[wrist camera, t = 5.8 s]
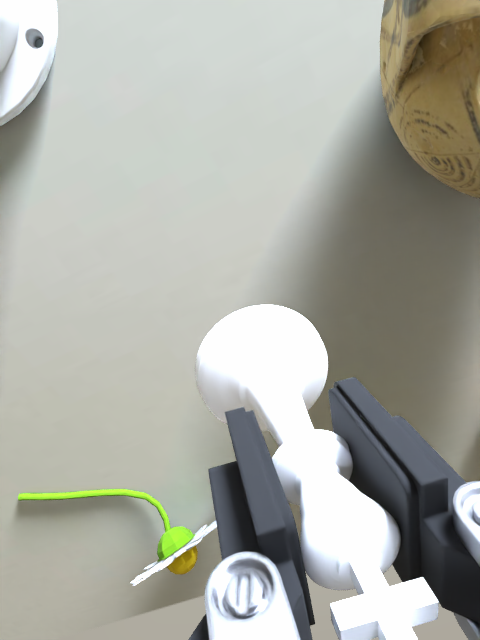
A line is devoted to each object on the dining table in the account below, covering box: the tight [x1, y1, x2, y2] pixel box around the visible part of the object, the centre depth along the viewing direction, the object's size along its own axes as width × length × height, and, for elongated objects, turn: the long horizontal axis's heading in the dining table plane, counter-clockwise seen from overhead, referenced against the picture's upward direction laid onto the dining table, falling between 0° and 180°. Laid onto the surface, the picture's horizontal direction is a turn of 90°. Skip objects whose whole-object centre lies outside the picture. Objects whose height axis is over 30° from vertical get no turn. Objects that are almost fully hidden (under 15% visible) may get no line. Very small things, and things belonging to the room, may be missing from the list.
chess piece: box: [195, 305, 439, 640], centre depth 11 cm, size 5×5×10 cm
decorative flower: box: [18, 489, 217, 586], centre depth 30 cm, size 8×6×15 cm
